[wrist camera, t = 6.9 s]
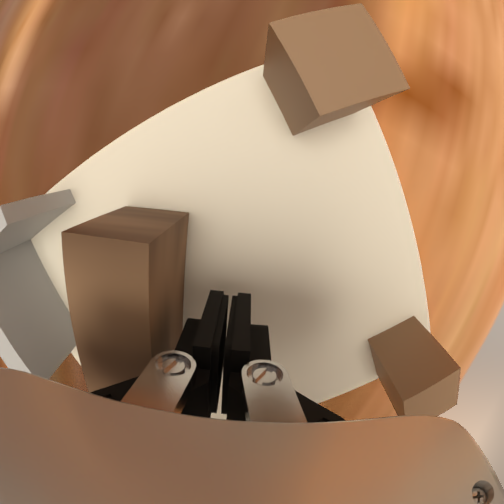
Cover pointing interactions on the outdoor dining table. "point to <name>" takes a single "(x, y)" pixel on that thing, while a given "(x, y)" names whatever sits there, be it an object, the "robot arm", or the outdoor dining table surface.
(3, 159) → the outdoor dining table surface
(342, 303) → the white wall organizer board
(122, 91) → the outdoor dining table surface
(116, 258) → the leg bar
